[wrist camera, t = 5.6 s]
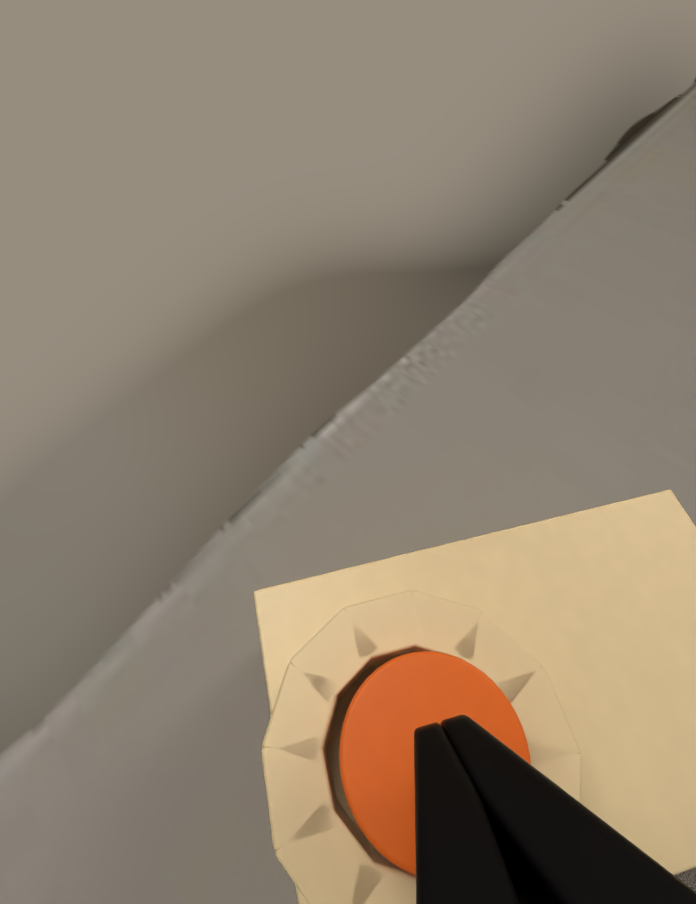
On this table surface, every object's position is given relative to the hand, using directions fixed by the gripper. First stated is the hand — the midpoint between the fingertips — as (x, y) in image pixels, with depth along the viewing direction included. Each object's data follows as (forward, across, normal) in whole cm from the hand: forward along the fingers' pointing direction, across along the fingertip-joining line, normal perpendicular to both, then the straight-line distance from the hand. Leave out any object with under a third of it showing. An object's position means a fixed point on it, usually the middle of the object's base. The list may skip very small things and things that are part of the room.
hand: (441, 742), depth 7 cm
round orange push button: (+2, 0, +2) cm, 3 cm away
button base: (+8, -4, +7) cm, 11 cm away
